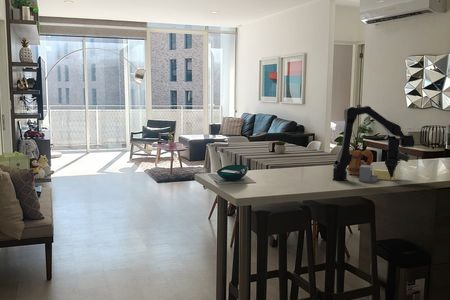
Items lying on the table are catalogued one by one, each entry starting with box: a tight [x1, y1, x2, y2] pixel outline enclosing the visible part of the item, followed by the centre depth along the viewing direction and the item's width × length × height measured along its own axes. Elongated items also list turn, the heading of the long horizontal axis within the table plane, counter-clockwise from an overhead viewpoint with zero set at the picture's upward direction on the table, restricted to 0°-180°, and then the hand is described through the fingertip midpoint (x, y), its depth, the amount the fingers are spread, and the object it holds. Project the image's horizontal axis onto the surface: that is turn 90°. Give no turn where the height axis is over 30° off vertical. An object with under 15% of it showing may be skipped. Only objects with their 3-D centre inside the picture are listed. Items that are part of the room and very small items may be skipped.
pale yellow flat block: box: [373, 168, 396, 181], centre depth 243 cm, size 11×2×5 cm, turn 64°
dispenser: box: [358, 164, 379, 183], centre depth 239 cm, size 8×8×8 cm
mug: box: [346, 148, 374, 176], centre depth 257 cm, size 15×8×15 cm, turn 62°
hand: (392, 175), depth 241 cm, fingers open, 7 cm apart
